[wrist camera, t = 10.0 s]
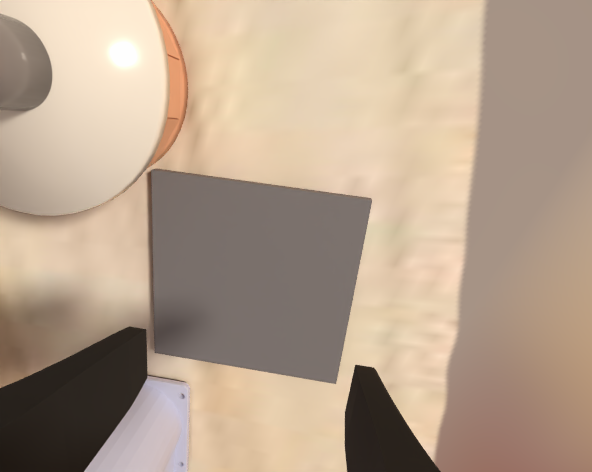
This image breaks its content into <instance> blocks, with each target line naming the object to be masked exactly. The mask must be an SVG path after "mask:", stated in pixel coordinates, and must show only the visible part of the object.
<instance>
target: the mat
mask: <svg viewBox="0 0 592 472" xmlns="http://www.w3.org/2000/svg"><path fill="white" fill-rule="evenodd" d="M151 178H152V232H153V285H154V339H155V353H159V354H165V355H171V356H176V357H182V358H188V359H194V360H200V361H206V362H211V363H217V364H223V365H229V366H235V367H240V368H246V369H252V370H258V371H264V372H269V373H275V374H281V375H287V376H293V377H299V378H304V379H310V380H316V381H322V382H328V383H333V384H336V381H337V376H338V371H339V366H340V361H341V356H342V351H343V346H344V341H345V335H346V330H347V325H348V320H349V315H350V310H351V305H352V300H353V295H354V290H355V285H356V280H357V275H358V269H359V264H360V259H361V254H362V249H363V244H364V239H365V234H366V229H367V224H368V219H369V214H370V209H371V203H372V199H371V198H365V197H357V196H350V195H343V194H336V193H329V192H321V191H314V190H307V189H300V188H292V187H285V186H278V185H271V184H263V183H256V182H249V181H242V180H234V179H227V178H220V177H213V176H206V175H198V174H191V173H184V172H177V171H169V170H162V169H153V170H151Z"/></svg>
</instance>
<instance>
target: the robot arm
mask: <svg viewBox="0 0 592 472" xmlns="http://www.w3.org/2000/svg"><path fill="white" fill-rule="evenodd" d="M181 393H182V394H184V395H182V394H181ZM189 407H190V387H189V385H188V384H187V383H185V382H180V381H175V380H169V379H163V378H158V377H152V376H147V344H146V329H140V328H134V327H127V328H125V329H123V330H121V331H119V332H117V333H115V334H113V335H111V336H109V337H107V338H105V339H103V340H101V341H99V342H97V343H95V344H93V345H91V346H90V347H88V348H86V349H84V350H82V351H80V352H78V353H76V354H74V355H72V356H70V357H68V358H66V359H64V360H62V361H60V362H58V363H56V364H53V365H51V366H49V367H47V368H45V369H43V370H41V371H39V372H36V373H34V374H32V375H30V376H28V377H26V378H23V379H21V380H19V381H17V382H14V383H12V384H9V385H7V386H5V387H2V388H0V472H188V451H189ZM345 452H346V463H347V472H440V471H439V469H438V468H437V466H436V465H435V464H434V462H433V461H432V460H431V458H430V457H429V456H428V454H427V453H426V451H425V450H424V449H423V447H422V446H421V444H420V443H419V441H418V440H417V439H416V437H415V436H414V434H413V433H412V431H411V429H410V428H409V426H408V425H407V423H406V422H405V420H404V418H403V417H402V415H401V414H400V412H399V410H398V409H397V407H396V405H395V404H394V402H393V400H392V399H391V397H390V395H389V393H388V392H387V390H386V388H385V386H384V384H383V383H382V381H381V379H380V377H379V375H378V373H377V371H376V370H375V369H374V368H372V367H366V366H360V365H355V369H354V373H353V378H352V383H351V387H350V392H349V397H348V401H347V406H346V411H345Z"/></svg>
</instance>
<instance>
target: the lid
mask: <svg viewBox="0 0 592 472" xmlns="http://www.w3.org/2000/svg"><path fill="white" fill-rule="evenodd" d="M169 100H170V73H169V64H168V55H167V50H166V46H165V41H164V37H163V32H162V29H161V26H160V23H159V20H158V17H157V14H156V11H155V8H154V6H153V4H152V2H151V0H0V206H3V207H5V208H8V209H12V210H15V211H19V212H22V213H28V214H34V215H46V216H58V215H66V214H73V213H77V212H80V211H84V210H88V209H91V208H94V207H97V206H99V205H102V204H104V203H106V202H108V201H110V200H112V199H114V198H116V197H117V196H119V195H120V194H122V193H123V192H125V191H126V190H127V189H128V188H129V187H130V186H131V185H132V184H134V183H135V182H136V181H137V180H138V178H139V177H140V176H141V175H142V173H143V172H144V171H145V170H146V169H147V167H148V165H149V164H150V162H151V160H152V158H153V157H154V155H155V153H156V151H157V148H158V146H159V144H160V141H161V139H162V136H163V132H164V128H165V124H166V121H167V115H168V107H169Z"/></svg>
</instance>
